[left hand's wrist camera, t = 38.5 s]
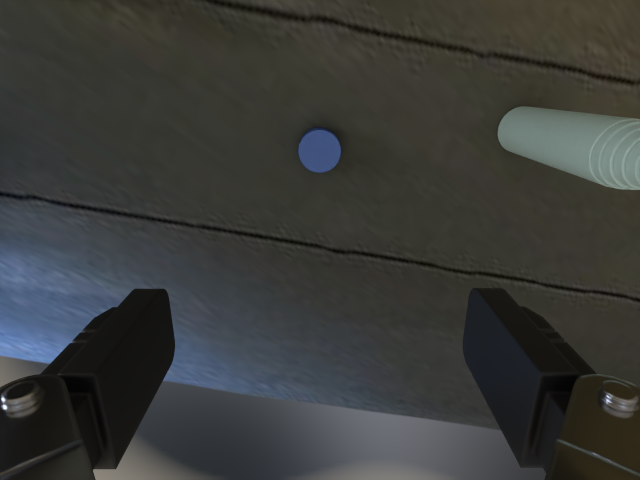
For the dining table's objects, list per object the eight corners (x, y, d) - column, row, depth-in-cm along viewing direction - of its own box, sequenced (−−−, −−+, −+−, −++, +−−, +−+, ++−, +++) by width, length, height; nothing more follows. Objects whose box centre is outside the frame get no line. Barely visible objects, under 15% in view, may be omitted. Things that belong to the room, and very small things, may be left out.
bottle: (503, 159, 43) (671, 229, 22) (492, 117, 41) (659, 151, 21) (547, 141, 42) (760, 196, 22) (537, 98, 41) (754, 114, 20)
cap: (348, 151, 43) (349, 155, 40) (316, 176, 43) (315, 181, 41) (323, 118, 41) (323, 120, 39) (291, 144, 42) (289, 147, 40)
